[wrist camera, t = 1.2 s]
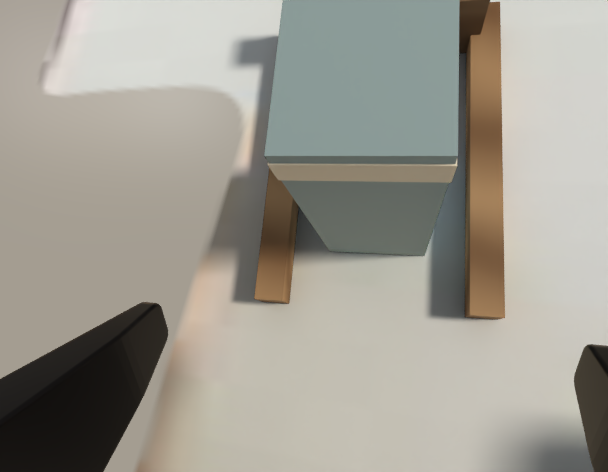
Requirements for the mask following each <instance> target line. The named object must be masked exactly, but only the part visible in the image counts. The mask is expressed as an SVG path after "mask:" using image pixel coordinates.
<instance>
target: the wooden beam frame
mask: <svg viewBox="0 0 608 472" xmlns="http://www.w3.org/2000/svg"><path fill="white" fill-rule="evenodd" d="M489 2H490V0H459V53H466V204H465V317H471V318H484V319H497V320H498V319H502V318H505V296H504V232H503V168H502V104H501V39H500V2H490V3H489ZM298 208H299V206H298V204H297V203H296V201H295V200H294V198H293V197H292V196H291V194H290V193H289V191H288V190H287V188H286V187H285V185H284V184H283V182H282V181H281V180H278V179H277V178H276V176H275V175H274V174H273V172H272V171H271V169H270V168H269V176H268V184H267V193H266V202H265V210H264V219H263V228H262V236H261V245H260V253H259V262H258V271H257V279H256V288H255V296H254V299H256V300H259V301H262V302H275V303H288V304H289V300H290V290H291V280H292V269H293V259H294V249H295V239H296V228H297V218H298Z"/></svg>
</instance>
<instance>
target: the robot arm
mask: <svg viewBox="0 0 608 472" xmlns="http://www.w3.org/2000/svg"><path fill="white" fill-rule="evenodd" d="M167 337H168V328H167V325H166V321H165V318H164V315H163V311H162V308H161V306H160V305H159V304H157V303H148V302H142V303H140V304H138V305H136V306H134V307H132V308H130V309H129V310H127V311H125V312H123V313H121V314H119V315H117V316H116V317H114V318H112V319H110V320H108V321H106V322H105V323H103V324H101V325H99V326H97V327H95V328H93V329H92V330H90V331H88V332H86V333H84V334H82V335H80V336H79V337H77V338H75V339H73V340H71V341H69V342H68V343H66V344H64V345H62V346H60V347H58V348H57V349H55V350H53V351H51V352H49V353H47V354H46V355H44V356H42V357H40V358H38V359H36V360H35V361H32V362H31V363H29V364H27V365H25V366H23V367H22V368H20V369H18V370H16V371H14V372H12V373H10V374H9V375H7V376H5V377H3V378H2V379H0V472H103V471H104V469H105V468H106V466H107V464H108V462H109V460H110V458H111V456H112V455H113V453H114V451H115V449H116V447H117V445H118V443H119V442H120V440H121V438H122V436H123V434H124V432H125V430H126V429H127V427H128V425H129V423H130V421H131V419H132V417H133V415H134V413H135V412H136V410H137V408H138V406H139V404H140V402H141V400H142V398H143V396H144V394H145V392H146V389H147V387H148V385H149V382H150V380H151V377H152V375H153V373H154V370H155V367H156V365H157V363H158V360H159V358H160V355H161V353H162V351H163V348H164V346H165V343H166V341H167ZM574 385H575V390H576V395H577V400H578V404H579V409H580V413H581V418H582V423H583V427H584V432H585V436H586V441H587V446H588V450H589V454H590V458H591V463H592V466H593V469H594V472H608V346H604V345H593V344H589V345H587V346H586V347H585V348H584V350H583V352H582V355H581V358H580V361H579V364H578V366H577V369H576V372H575V376H574Z"/></svg>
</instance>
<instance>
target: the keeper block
mask: <svg viewBox="0 0 608 472" xmlns="http://www.w3.org/2000/svg"><path fill="white" fill-rule="evenodd" d="M458 103H459V0H283V3H282V12H281V20H280V28H279V37H278V45H277V53H276V62H275V70H274V78H273V87H272V95H271V104H270V112H269V120H268V129H267V137H266V145H265V154H264V156H265V158H266V159H267V161H268V164H267V165H268V166H269V168H270V169H271V171H272V172H273V174H274V175H275V176H276V178H277V179H278V180H281V181H282V182H283V184H284V185H285V187H286V188H287V190H288V191H289V193H290V194H291V196H292V197H293V198H294V200H295V201H296V203H297V204H298V206H299V207H300V209H301V210H302V212H303V213H304V214H305V216H306V217H307V219H308V220H309V222H310V223H311V225H312V226H313V228H314V229H315V230H316V232H317V233H318V235H319V236H320V238H321V239H322V241H323V242H324V244H325V245H326V246H327V248H328V249H329V251H334V252H355V253H376V254H396V255H417V256H425V253H426V250H427V247H428V244H429V241H430V238H431V235H432V232H433V229H434V226H435V223H436V220H437V217H438V214H439V211H440V208H441V205H442V202H443V199H444V196H445V193H446V190H447V187H448V184H449V183H451V182H452V180H453V177H454V174H455V171H456V168H457V157H458Z"/></svg>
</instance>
